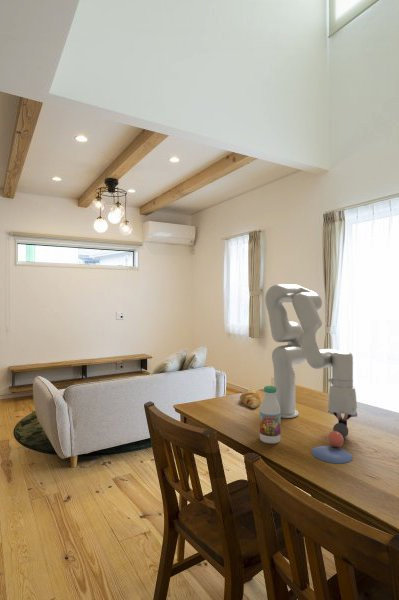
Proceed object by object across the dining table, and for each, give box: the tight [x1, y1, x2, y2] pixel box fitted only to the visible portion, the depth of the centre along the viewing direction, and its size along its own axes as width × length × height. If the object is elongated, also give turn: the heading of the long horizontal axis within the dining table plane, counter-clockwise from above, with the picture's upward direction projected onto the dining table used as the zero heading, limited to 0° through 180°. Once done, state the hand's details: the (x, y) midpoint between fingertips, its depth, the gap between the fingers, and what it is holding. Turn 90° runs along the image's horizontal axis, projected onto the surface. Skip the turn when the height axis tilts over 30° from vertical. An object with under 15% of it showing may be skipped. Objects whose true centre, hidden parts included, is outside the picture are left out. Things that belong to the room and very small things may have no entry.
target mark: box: [311, 445, 353, 465], centre depth 119 cm, size 13×13×1 cm
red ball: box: [326, 430, 345, 448], centre depth 125 cm, size 6×6×6 cm
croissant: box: [239, 389, 261, 409], centre depth 177 cm, size 21×10×8 cm, turn 4°
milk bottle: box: [259, 385, 282, 445], centre depth 131 cm, size 8×8×20 cm
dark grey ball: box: [332, 423, 349, 439], centre depth 133 cm, size 6×6×6 cm
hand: (342, 429), depth 137 cm, fingers closed
